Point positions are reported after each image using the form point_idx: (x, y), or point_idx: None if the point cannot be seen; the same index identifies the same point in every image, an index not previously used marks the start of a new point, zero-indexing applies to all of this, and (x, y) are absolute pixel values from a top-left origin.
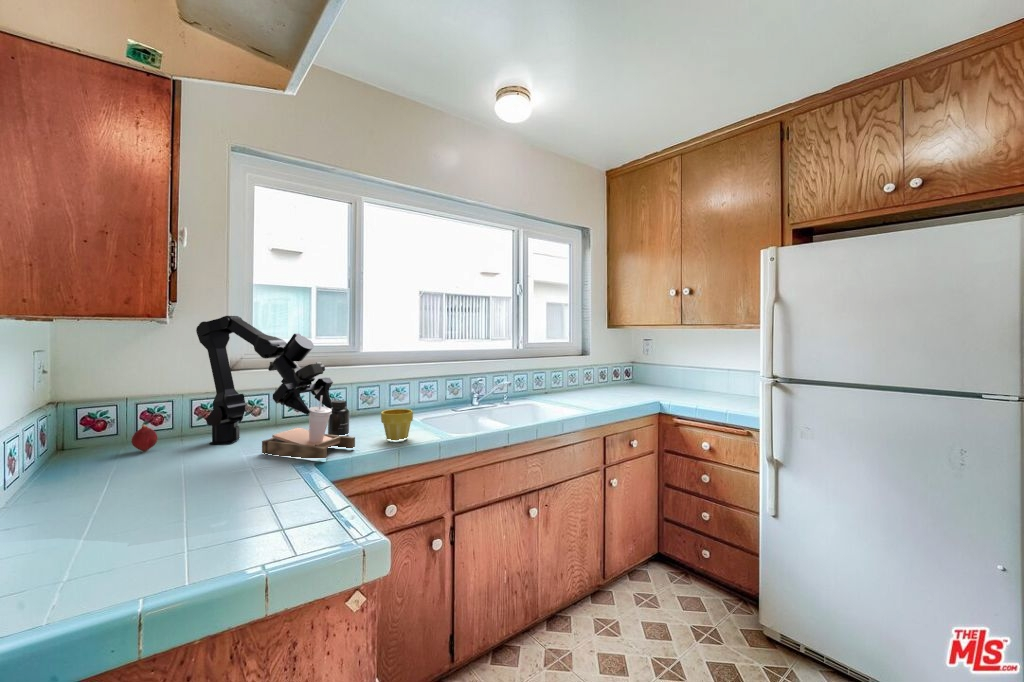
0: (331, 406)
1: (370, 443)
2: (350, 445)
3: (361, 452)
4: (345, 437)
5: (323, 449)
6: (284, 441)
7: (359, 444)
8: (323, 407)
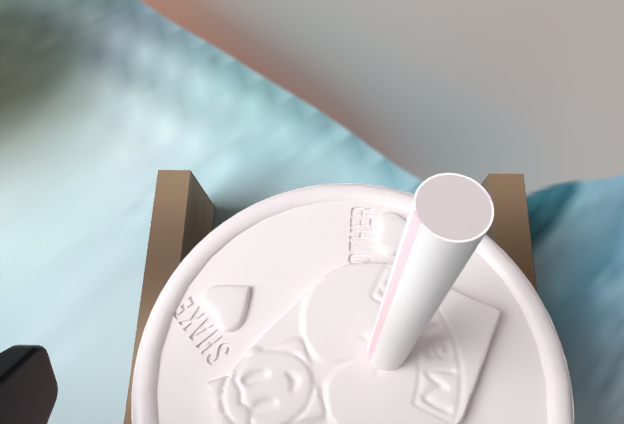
0: (34, 353)
1: (5, 211)
2: (204, 206)
3: (220, 139)
4: (184, 235)
5: (520, 180)
6: None
7: (43, 267)
8: (224, 392)
